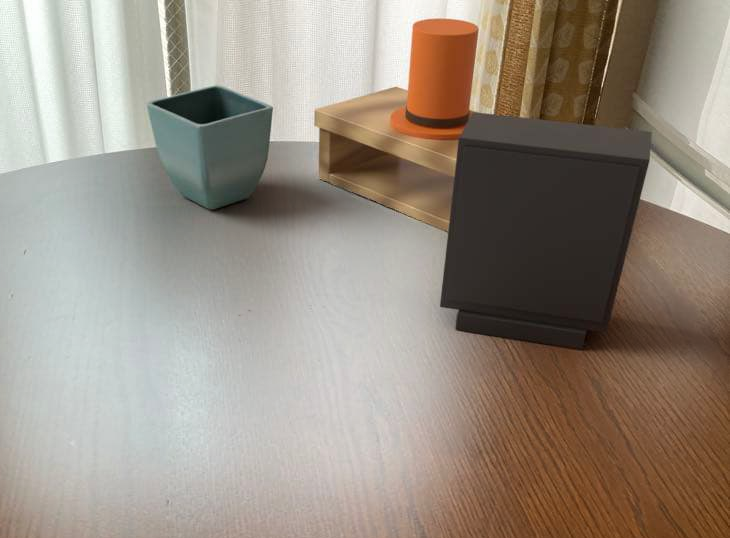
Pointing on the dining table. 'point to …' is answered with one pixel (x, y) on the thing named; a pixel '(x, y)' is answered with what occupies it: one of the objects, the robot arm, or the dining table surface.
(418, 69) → the hat
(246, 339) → the dining table surface
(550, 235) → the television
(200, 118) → the flower pot
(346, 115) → the stand
